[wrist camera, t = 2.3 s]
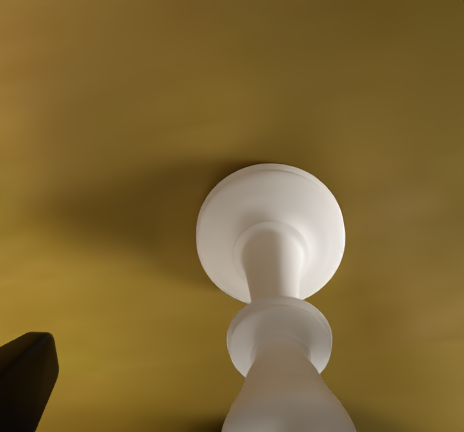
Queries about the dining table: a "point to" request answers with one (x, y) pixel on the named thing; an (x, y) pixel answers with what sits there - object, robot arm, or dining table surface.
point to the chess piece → (275, 293)
